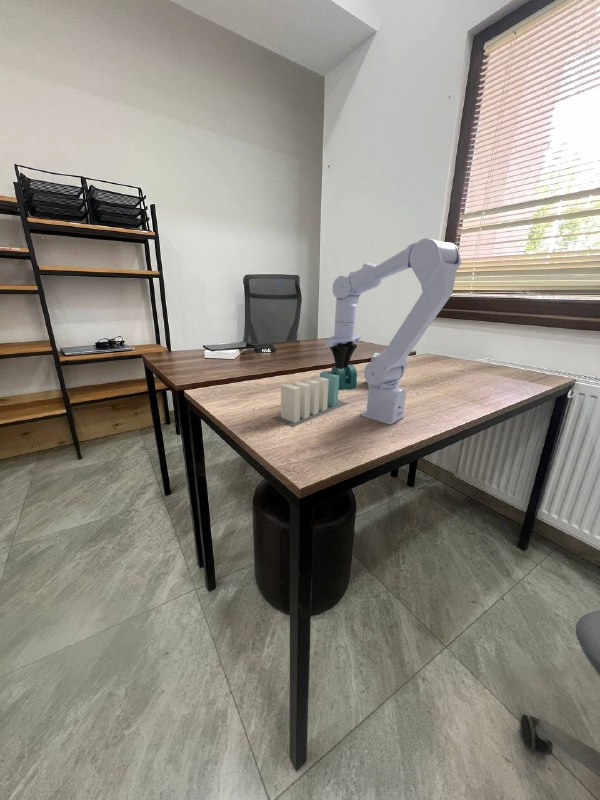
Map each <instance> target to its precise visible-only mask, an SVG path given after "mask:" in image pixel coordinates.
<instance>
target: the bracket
mask: <svg viewBox="0 0 600 800" xmlns="http://www.w3.org/2000/svg"><path fill="white" fill-rule="evenodd" d="M322 373H330V374H334V375H338V376H339V390H346V389H348V390H355V389H357V380H358V379H357V378H358V373H357V368H356V367H355V366H354V365H353V364H348V367H347V368H344V367H343V369H338V368H336V365H335V366H332V368H331V370H324V371H323V370H322V371H321V372H320V373H319V377H322ZM339 390H338V391H339ZM346 391H347V390H346Z"/></svg>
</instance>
